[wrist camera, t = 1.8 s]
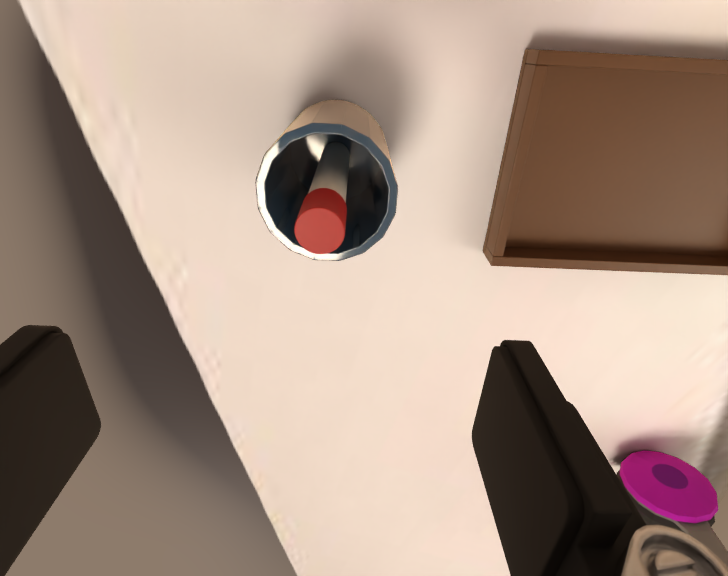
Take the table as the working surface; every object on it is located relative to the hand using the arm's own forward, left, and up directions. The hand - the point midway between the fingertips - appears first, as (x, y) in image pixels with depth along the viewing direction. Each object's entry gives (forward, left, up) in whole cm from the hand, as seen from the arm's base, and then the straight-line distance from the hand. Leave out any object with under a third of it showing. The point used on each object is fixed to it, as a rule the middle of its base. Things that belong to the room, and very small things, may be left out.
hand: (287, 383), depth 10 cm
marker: (0, 0, -24) cm, 24 cm away
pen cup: (0, 0, -24) cm, 24 cm away
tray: (0, +23, -24) cm, 33 cm away
